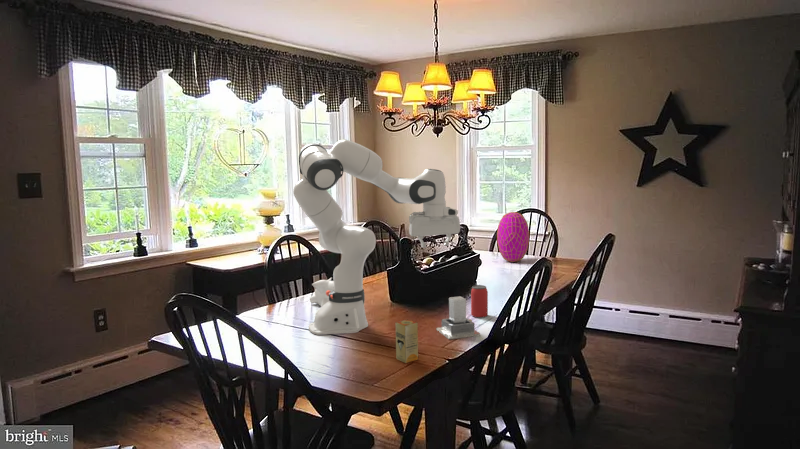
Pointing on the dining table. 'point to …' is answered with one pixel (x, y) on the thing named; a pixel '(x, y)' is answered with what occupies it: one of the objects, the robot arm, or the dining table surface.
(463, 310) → the white rectangular block
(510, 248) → the decorative egg
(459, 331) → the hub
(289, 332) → the dining table surface
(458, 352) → the dining table surface
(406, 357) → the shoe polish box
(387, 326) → the dining table surface
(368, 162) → the robot arm
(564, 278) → the dining table surface
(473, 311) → the beer can
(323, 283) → the fox head
